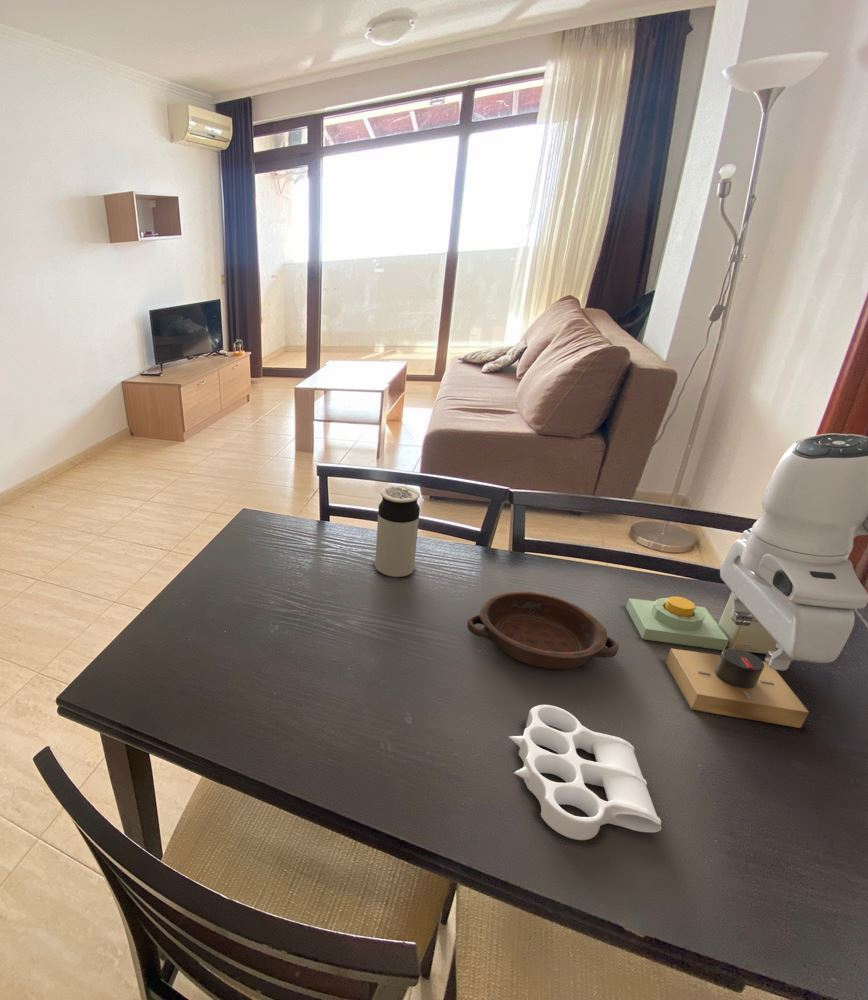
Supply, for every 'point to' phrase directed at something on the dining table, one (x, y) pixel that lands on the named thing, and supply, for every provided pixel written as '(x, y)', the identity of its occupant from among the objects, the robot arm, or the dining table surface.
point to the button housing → (675, 625)
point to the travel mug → (397, 531)
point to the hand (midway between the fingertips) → (756, 643)
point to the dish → (542, 630)
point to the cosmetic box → (746, 634)
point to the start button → (680, 606)
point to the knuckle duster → (583, 776)
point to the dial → (739, 668)
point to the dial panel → (734, 691)
